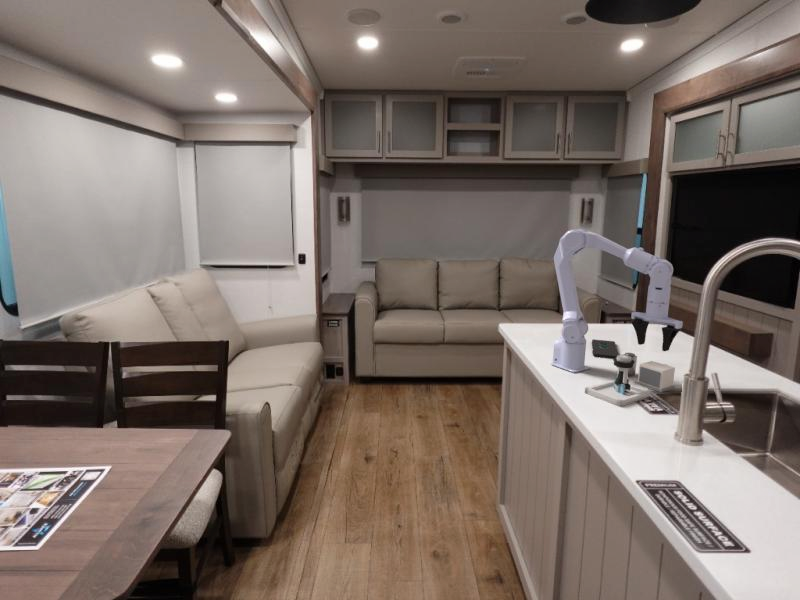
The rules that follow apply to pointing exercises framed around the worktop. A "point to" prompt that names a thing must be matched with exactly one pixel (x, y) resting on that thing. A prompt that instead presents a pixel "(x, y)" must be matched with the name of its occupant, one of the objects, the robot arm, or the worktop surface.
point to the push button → (622, 373)
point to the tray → (616, 393)
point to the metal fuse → (632, 370)
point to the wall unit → (656, 376)
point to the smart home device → (604, 349)
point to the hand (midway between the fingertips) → (653, 347)
